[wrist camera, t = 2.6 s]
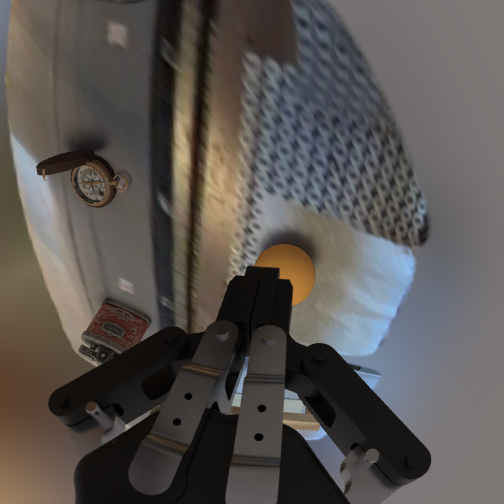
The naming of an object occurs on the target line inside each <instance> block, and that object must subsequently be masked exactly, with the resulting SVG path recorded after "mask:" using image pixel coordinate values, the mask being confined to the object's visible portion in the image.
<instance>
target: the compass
mask: <svg viewBox="0 0 504 504" xmlns="http://www.w3.org/2000/svg"><path fill="white" fill-rule="evenodd" d="M36 168H37V174H38V175H43V179H44V178H45V175H50V174H55V173H60V172H64V171H68V170H71V169H72V172H71V182H72V185H73V188H74V190H75V192H76V194H77V195H78V197H79V198H80V199H81V200H82V201H83V202H84V203H85V204H87V205H89V206H91V207H96V208H100V207H104V206H106V205H108V204H109V203H110V202H111V201H112V199H113V198H114V196H115V193H116V189H118V190H120V191H124V190H126V189H127V187H128V182H127V179H126V178H125V177H124V176H123V175H119V174H118V175H116V176H122V177H123V178H124V179H125V180H126V188H125V189H119V188H117V187H116V185H118V180H115V177H116V176H114V174H113V172H112V170H111V168H110V167H109V166H108V164H107V163H106V162H104V161H103V160H102V159H100V158H98V157H96V156H94V151H92V150H76V151H71V152H66V153H62V154H59V155H56V156H53V157H51V158H48V159H46V160H44V161H42V162H40V163H39V164H38V165H37V166H36ZM44 181H46V180H45V179H44Z"/></svg>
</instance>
